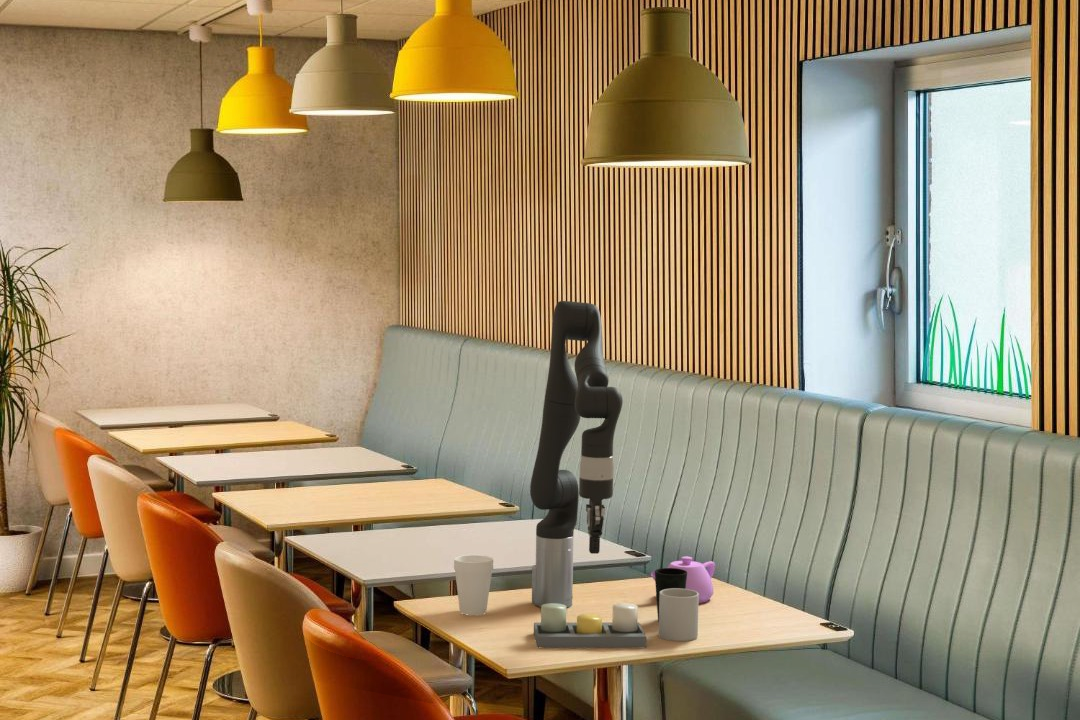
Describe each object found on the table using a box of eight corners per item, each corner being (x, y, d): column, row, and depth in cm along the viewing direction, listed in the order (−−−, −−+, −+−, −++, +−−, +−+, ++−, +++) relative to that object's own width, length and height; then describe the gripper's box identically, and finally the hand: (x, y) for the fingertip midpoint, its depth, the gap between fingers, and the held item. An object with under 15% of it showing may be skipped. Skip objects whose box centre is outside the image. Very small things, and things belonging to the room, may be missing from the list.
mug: (670, 642, 305) (671, 598, 304) (650, 632, 313) (651, 589, 313) (712, 638, 309) (713, 594, 308) (691, 628, 318) (692, 585, 317)
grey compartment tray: (537, 647, 299) (537, 636, 299) (533, 633, 311) (533, 622, 311) (646, 647, 300) (646, 636, 300) (638, 633, 312) (638, 622, 312)
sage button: (541, 631, 302) (542, 609, 302) (540, 625, 307) (540, 603, 307) (567, 631, 302) (567, 609, 302) (564, 625, 308) (565, 603, 308)
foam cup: (483, 618, 323) (484, 564, 322) (447, 614, 326) (448, 561, 325) (497, 609, 332) (498, 556, 331) (462, 606, 335) (463, 553, 334)
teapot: (635, 597, 347) (636, 556, 346) (696, 589, 358) (697, 548, 357) (668, 609, 335) (669, 566, 335) (731, 600, 346) (732, 558, 345)
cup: (684, 626, 319) (685, 575, 318) (651, 624, 320) (652, 573, 320) (687, 618, 326) (688, 568, 326) (655, 616, 328) (656, 567, 327)
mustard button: (577, 642, 303) (578, 620, 302) (575, 636, 308) (575, 614, 308) (602, 642, 303) (603, 620, 303) (600, 635, 309) (600, 614, 308)
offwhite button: (613, 631, 303) (614, 609, 303) (610, 625, 308) (611, 603, 308) (639, 631, 303) (639, 609, 303) (635, 625, 309) (636, 603, 309)
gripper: (616, 481, 298) (613, 559, 299) (610, 471, 311) (608, 546, 313) (581, 480, 298) (579, 559, 299) (577, 471, 311) (575, 546, 312)
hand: (594, 552), depth 306 cm, fingers closed
